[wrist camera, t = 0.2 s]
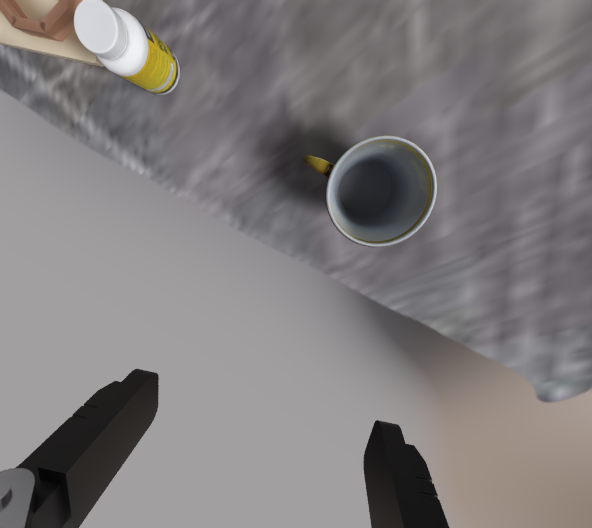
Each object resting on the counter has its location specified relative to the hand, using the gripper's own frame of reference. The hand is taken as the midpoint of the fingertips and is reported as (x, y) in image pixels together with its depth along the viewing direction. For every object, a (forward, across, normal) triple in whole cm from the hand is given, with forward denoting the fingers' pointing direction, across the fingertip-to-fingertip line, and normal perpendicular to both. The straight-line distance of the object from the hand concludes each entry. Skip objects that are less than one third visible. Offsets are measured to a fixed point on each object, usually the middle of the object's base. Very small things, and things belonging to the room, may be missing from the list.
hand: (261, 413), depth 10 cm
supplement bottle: (+29, +21, -17) cm, 40 cm away
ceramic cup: (+29, -5, -8) cm, 31 cm away
